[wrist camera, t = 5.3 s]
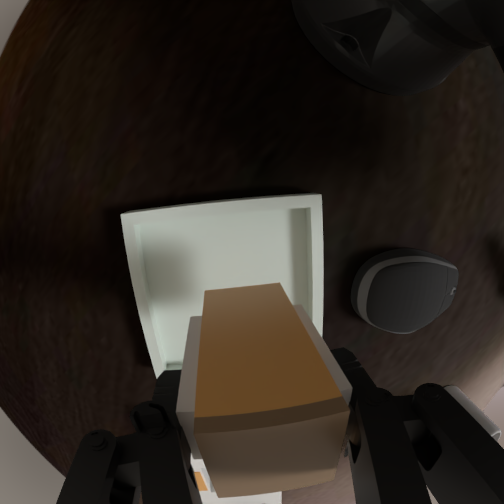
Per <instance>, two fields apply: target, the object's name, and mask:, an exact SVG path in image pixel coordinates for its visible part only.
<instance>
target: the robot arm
mask: <svg viewBox="0 0 504 504" xmlns="http://www.w3.org/2000/svg"><path fill="white" fill-rule="evenodd" d="M292 7H293V11H294V14H295V17H296V19H297V22H298V24H299V26H300V28H301V29H302V31H303V33H304V34H305V36H306V37H307V38H308V40H309V41H310V42H311V44H312V45H313V46H314V47H315V49H316V50H317V51H318V52H319V53H320V54H321V55H322V56H323V57H324V58H325V59H326V60H327V61H328V62H330V63H331V64H332V65H333V66H334V67H336V68H337V69H338V70H339V71H341V72H342V73H344V74H345V75H346V76H348V77H349V78H351V79H353V80H354V81H356V82H358V83H360V84H362V85H364V86H366V87H368V88H370V89H373V90H376V91H378V92H382V93H385V94H390V95H398V96H406V95H413V94H416V93H419V92H423V91H426V90H429V89H432V88H434V87H436V86H437V85H439V84H441V83H442V82H443V81H444V80H445V79H446V78H447V76H448V75H449V74H450V73H451V72H452V71H453V70H455V69H456V68H457V67H458V66H459V65H460V64H461V63H462V62H463V61H464V60H465V59H466V58H467V57H468V56H469V55H470V54H471V53H472V52H473V51H474V50H477V49H480V48H483V47H486V46H489V45H491V47H492V49H493V51H494V53H495V55H496V57H497V59H498V61H499V63H500V65H501V68H502V70H503V73H504V0H292ZM293 307H294V309H295V311H296V312H297V314H298V316H299V318H300V320H301V321H302V323H303V325H304V327H305V329H306V330H307V332H308V334H309V336H310V338H311V339H312V341H313V343H314V345H315V347H316V349H317V350H318V352H319V354H320V356H321V358H322V359H323V361H324V363H325V365H326V367H327V369H328V370H329V372H330V374H331V376H332V378H333V379H334V381H335V383H336V385H337V387H338V389H339V390H340V392H341V394H342V396H343V398H344V400H345V401H346V403H347V405H348V407H349V409H350V414H349V419H348V424H347V428H346V433H347V435H348V437H349V438H348V442H347V446H346V449H345V455H344V457H346V456H347V455H348V454H349V460H350V466H351V472H352V479H353V485H354V492H355V499H356V504H432V503H431V500H430V496H429V493H428V490H427V487H428V488H429V490H430V491H431V493H432V494H433V496H434V497H435V499H436V500H437V502H438V503H439V504H504V449H503V448H502V447H501V446H500V445H499V443H498V442H497V441H496V440H495V439H494V438H493V437H492V436H491V435H490V434H489V433H488V432H487V431H486V430H485V429H484V428H483V427H482V426H481V425H480V424H479V423H478V422H477V421H476V420H475V419H474V418H473V417H472V415H471V414H470V413H469V412H468V411H467V410H466V409H465V408H464V407H463V406H462V405H461V404H460V403H459V402H458V401H457V400H456V399H455V398H454V397H453V396H452V395H451V394H450V393H449V392H448V391H447V390H446V389H445V388H443V387H442V386H440V385H438V384H434V383H426V384H422V385H421V386H419V387H417V389H416V391H415V393H414V395H407V396H393V395H392V394H391V393H390V392H389V391H387V390H385V389H382V388H377V387H376V385H375V384H374V382H373V381H372V379H371V378H370V377H369V375H368V374H367V372H366V371H365V370H364V368H363V367H362V365H361V364H360V363H359V361H358V360H357V358H356V357H355V356H354V354H353V353H352V352H350V351H349V350H347V349H345V348H344V347H343V348H338V349H334V350H329V348H328V347H327V345H326V344H325V342H324V340H323V339H322V337H321V335H320V334H319V332H318V331H317V329H316V327H315V326H314V324H313V322H312V321H311V319H310V318H309V316H308V314H307V313H306V311H305V310H304V308H303V306H302V305H301V304H299V305H293ZM201 322H202V316H191V317H190V322H189V327H188V333H187V339H186V346H185V352H184V358H183V365H182V370H164V371H163V372H162V373H161V374H160V376H159V377H158V378H157V382H156V386H155V387H156V388H155V390H154V395H153V398H152V401H147V402H143V403H140V404H139V405H137V406H135V407H134V408H133V410H132V411H131V413H130V419H131V421H132V423H133V425H134V427H135V429H136V431H137V432H136V433H133V434H130V435H125V436H120V437H115V436H114V435H113V434H112V433H111V432H110V431H107V430H94V431H91V432H89V433H88V434H86V435H85V436H84V438H83V439H82V441H81V443H80V445H79V448H78V450H77V452H76V455H75V457H74V459H73V462H72V464H71V467H70V469H69V472H68V474H67V477H66V479H65V482H64V484H63V487H62V489H61V492H60V495H59V498H58V500H57V503H56V504H138V503H139V498H140V493H141V491H142V500H143V504H203V503H202V500H201V496H200V493H199V489H198V485H197V481H196V478H195V474H194V470H193V467H192V465H191V454H192V457H193V459H202V456H201V454H200V451H199V448H198V445H197V443H196V440H195V437H194V434H193V432H194V413H195V397H196V382H197V369H198V356H199V344H200V333H201ZM426 485H427V487H426Z"/></svg>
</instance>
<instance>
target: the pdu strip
mask: <svg viewBox="0 0 504 504" xmlns="http://www.w3.org/2000/svg"><path fill="white" fill-rule="evenodd" d="M191 465H192V467H193V470H194V474H195V478H196V481H197V485H198V489H199V493H200V496H201V500H202V503H203V504H282V503H281V491H280V492H274V493H267V494H259V495H251V496H240V497H227V498H218V496H217V494H216V492H215V489H214V487H213V485H212V482H211V480H210V477H209V475H208V472H207V470H206V467H205V464H204V462H203V459H193V457H192V454H191Z"/></svg>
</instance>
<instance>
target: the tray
mask: <svg viewBox="0 0 504 504" xmlns="http://www.w3.org/2000/svg"><path fill="white" fill-rule="evenodd" d="M121 221H122V228H123V235H124V241H125V247H126V253H127V259H128V264H129V270H130V275H131V280H132V285H133V290H134V294H135V299H136V303H137V308H138V312H139V316H140V320H141V324H142V328H143V332H144V336H145V340H146V343H147V347H148V350H149V354H150V357H151V361H152V364H153V368H154V371H155V374H156V377H157V378H158V377H159V376H160V374H161V373H162V372H163V371H164V370H182V365H183V358H184V352H185V346H186V339H187V333H188V327H189V322H190V317H191V316H202V312H203V302H204V292H205V290H214V289H224V288H234V287H243V286H253V285H262V284H270V283H279V282H280V284H281V286H282V287H283V289H284V291H285V293H286V295H287V296H288V298H289V300H290V302H291V303H292V305H299V304H301V305H302V306H303V308H304V310H305V311H306V313H307V314H308V316H309V318H310V319H311V321H312V322H313V324H314V326H315V327H316V329H317V331H318V332H319V334H320V335H321V337H322V326H323V220H322V195H321V194H315V193H304V194H288V195H274V196H261V197H249V198H237V199H227V200H217V201H207V202H198V203H189V204H180V205H172V206H164V207H156V208H148V209H141V210H134V211H128V212H125V213H123V214H121Z"/></svg>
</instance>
